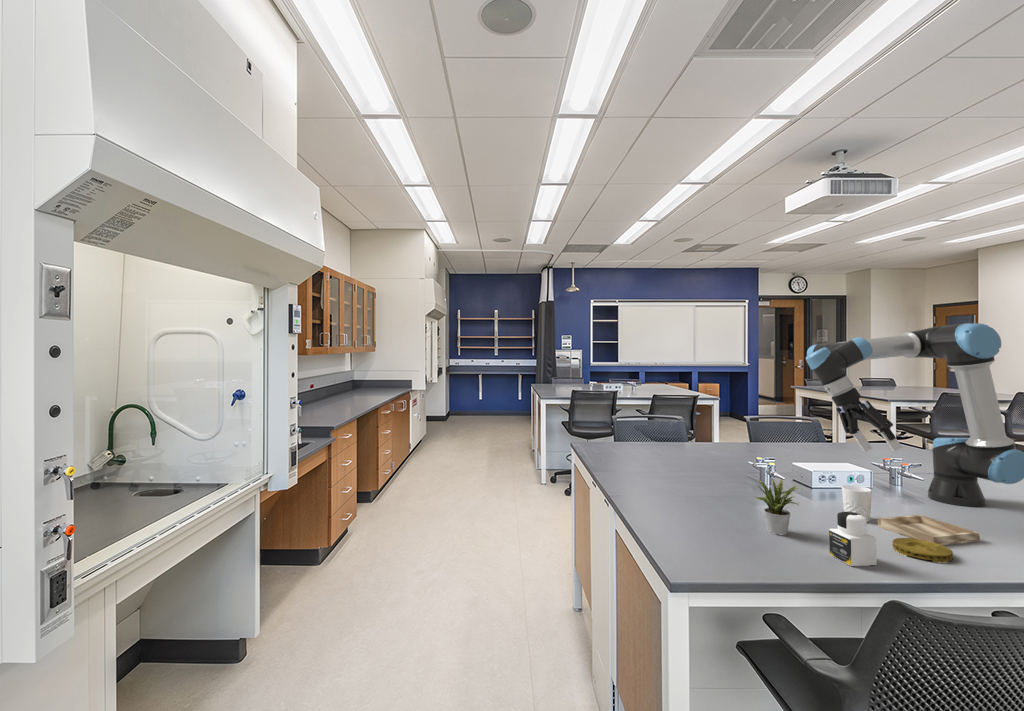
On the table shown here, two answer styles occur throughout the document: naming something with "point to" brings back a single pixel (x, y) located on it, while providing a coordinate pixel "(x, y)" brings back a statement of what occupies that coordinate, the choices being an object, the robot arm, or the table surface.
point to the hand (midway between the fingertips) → (882, 450)
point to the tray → (928, 529)
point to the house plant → (777, 508)
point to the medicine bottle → (852, 541)
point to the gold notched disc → (922, 549)
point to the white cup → (857, 500)
